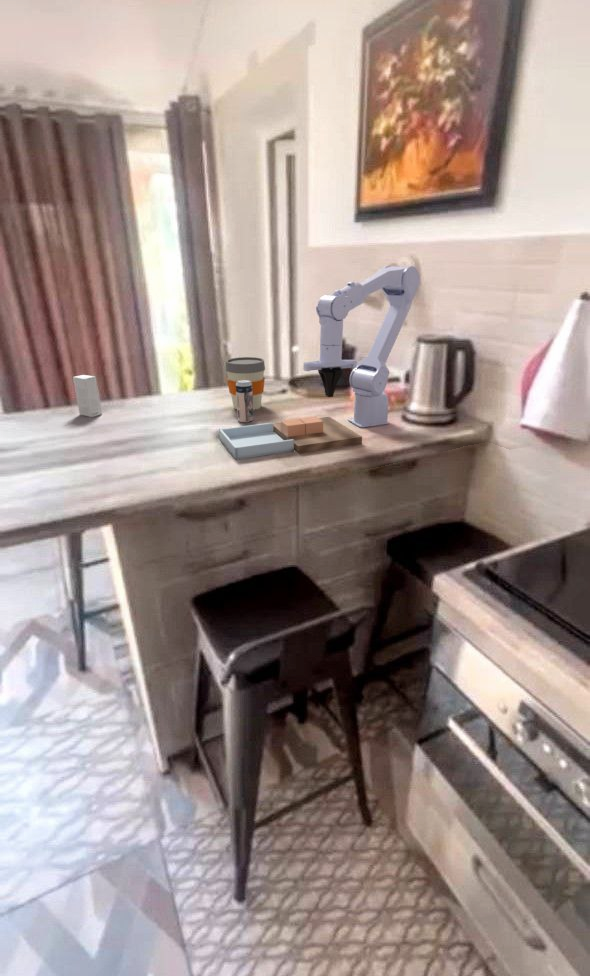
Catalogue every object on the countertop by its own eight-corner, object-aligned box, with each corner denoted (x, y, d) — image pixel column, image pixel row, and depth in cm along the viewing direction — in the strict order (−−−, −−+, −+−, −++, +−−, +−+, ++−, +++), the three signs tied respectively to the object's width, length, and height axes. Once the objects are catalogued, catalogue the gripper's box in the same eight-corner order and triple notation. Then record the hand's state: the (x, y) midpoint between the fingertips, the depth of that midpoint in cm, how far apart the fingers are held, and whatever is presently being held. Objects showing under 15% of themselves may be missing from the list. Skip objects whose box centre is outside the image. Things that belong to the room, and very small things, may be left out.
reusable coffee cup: (265, 412, 163) (263, 364, 157) (225, 412, 163) (222, 364, 157) (267, 401, 174) (266, 356, 168) (230, 402, 174) (227, 357, 168)
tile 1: (298, 429, 140) (298, 418, 139) (305, 434, 136) (305, 423, 134) (280, 431, 138) (280, 420, 137) (287, 437, 134) (287, 425, 133)
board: (329, 423, 151) (329, 416, 150) (361, 444, 134) (362, 436, 134) (271, 430, 145) (271, 423, 145) (298, 453, 128) (297, 446, 128)
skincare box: (102, 414, 162) (96, 376, 157) (91, 417, 159) (84, 379, 154) (90, 411, 165) (83, 374, 160) (79, 414, 162) (71, 376, 157)
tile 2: (315, 426, 142) (315, 416, 140) (323, 432, 137) (323, 421, 136) (298, 429, 140) (298, 418, 139) (305, 434, 136) (305, 423, 134)
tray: (272, 432, 144) (272, 422, 142) (293, 451, 130) (293, 439, 129) (219, 439, 138) (218, 429, 137) (235, 459, 125) (235, 448, 124)
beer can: (251, 423, 152) (249, 383, 147) (235, 422, 152) (233, 382, 148) (255, 419, 156) (253, 379, 151) (240, 418, 157) (238, 379, 152)
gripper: (349, 341, 139) (347, 391, 144) (299, 343, 134) (298, 394, 140) (361, 344, 133) (358, 396, 138) (309, 347, 128) (308, 400, 134)
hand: (329, 396), depth 139 cm, fingers closed
